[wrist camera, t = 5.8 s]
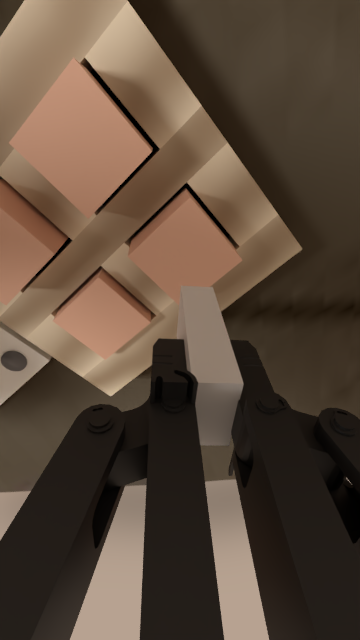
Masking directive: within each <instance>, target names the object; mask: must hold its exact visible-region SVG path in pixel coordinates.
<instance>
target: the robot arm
mask: <svg viewBox="0 0 360 640" xmlns="http://www.w3.org/2000/svg"><path fill="white" fill-rule="evenodd" d="M231 435H232V439H233V443H234V450H233V454H232V458H231V462H230V466H229V476H232V474H233V470H234V471H235V476H236V481H237V485H238V491H239V495H240V500H241V505H242V510H243V514H244V519H245V524H246V529H247V534H248V539H249V544H250V548H251V553H252V558H253V563H254V568H255V573H256V577H257V582H258V587H259V592H260V597H261V601H262V606H263V611H264V616H265V621H266V626H267V630H268V635H269V640H360V419H358V418H357V417H356V416H355V415H353V414H351V413H349V412H347V411H345V410H342V409H338V408H327V409H325V410H322V411H321V413H320V415H319V417H316V416H312V415H308V414H305V413H301V412H298V411H295V410H293V409H291V408H290V406H289V404H288V403H287V401H286V400H285V399H284V398H282V397H281V396H280V395H278V394H276V393H274V390H273V388H272V386H271V383H270V381H269V379H268V376H267V374H266V372H265V369H264V367H263V366H262V362H261V360H260V359H259V355H258V353H257V351H256V348H254V347H253V346H252V345H251V344H250V343H249V342H248V341H239V340H230V339H229V336H228V333H227V330H226V327H225V324H224V321H223V317H222V314H221V311H220V308H219V305H218V302H217V299H216V295H215V292H214V289H213V287H198V286H181V291H180V303H179V314H178V326H177V339H162V338H159V339H158V340H157V341H156V342H155V344H154V345H153V354H152V376H151V393H150V396H149V398H148V400H147V401H146V402H145V403H144V404H143V405H141V406H140V407H138V408H135V409H133V410H129V411H125V412H121V411H120V410H119V409H118V408H117V407H114V406H111V405H105V404H99V405H95V406H91V407H89V408H87V409H86V410H84V411H82V412H81V414H80V415H79V416H78V417H77V418H76V420H75V421H74V423H73V425H72V426H71V428H70V429H69V431H68V433H67V434H66V436H65V437H64V439H63V441H62V442H61V444H60V445H59V447H58V449H57V450H56V452H55V454H54V455H53V457H52V458H51V460H50V462H49V463H48V465H47V466H46V468H45V470H44V471H43V473H42V474H41V476H40V478H39V479H38V481H37V483H36V484H35V486H34V487H33V489H32V491H31V492H30V494H29V495H28V497H27V499H26V500H25V502H24V504H23V505H22V507H21V508H20V510H19V512H18V513H17V515H16V516H15V518H14V520H13V521H12V523H11V524H10V526H9V528H8V529H7V531H6V533H5V534H4V536H3V537H2V539H1V541H0V640H70V637H71V634H72V632H73V629H74V626H75V623H76V621H77V618H78V615H79V612H80V610H81V607H82V604H83V601H84V598H85V595H86V593H87V590H88V587H89V584H90V582H91V579H92V576H93V573H94V570H95V568H96V565H97V562H98V560H99V557H100V554H101V551H102V548H103V546H104V543H105V540H106V537H107V534H108V531H109V529H110V526H111V523H112V521H113V518H114V515H115V512H116V509H117V507H118V504H119V501H120V498H121V496H122V493H123V490H124V487H125V485H126V484H129V483H132V482H135V481H138V480H141V479H144V478H147V486H146V487H147V489H146V509H145V532H144V557H143V579H142V604H141V625H140V626H141V627H140V640H224V635H223V627H222V620H221V611H220V602H219V594H218V587H217V578H216V570H215V562H214V553H213V546H212V537H211V529H210V521H209V512H208V504H207V496H206V488H205V480H204V471H203V463H202V455H201V447H200V445H226V446H229V444H230V439H231ZM346 477H347V478H348V480H349V481H350V482H351V483H350V482H349V481H347V479H346Z"/></svg>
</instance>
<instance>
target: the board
mask: <svg viewBox="0 0 360 640" xmlns="http://www.w3.org/2000/svg"><path fill="white" fill-rule="evenodd" d="M73 57H74V58H75V59H76V60H77V61H78V62H80V63H81V64H82V65H83V66H84V67H85V68H86V69H88V70H89V72H91V71H92V69H93V68H94V69H95V70H96V72H97V73H98V74H99V75H100V77H101V78H102V79H103V80H104V81H105V83H106V84H107V85H108V86H109V88H110V89H111V90H112V91H113V92H114V94H115V95H116V96H117V97H118V99H119V100H120V101H121V102H122V103H123V105H124V106H125V107H126V108H127V110H128V111H129V112H130V113H131V114H132V116H133V117H134V118H135V119H136V121H137V122H138V123H139V124H140V125H141V127H142V128H143V129H144V130H145V132H146V133H147V134H148V135H149V136H150V138H151V139H152V140H153V141H154V143H155V144H156V145H157V146H158V147H159V148H158V149H157V150H156V151H155V152H154V153H153V154H152V156H151V157H150V158H149V159H148V160H147V161H146V162H145V163H144V164H143V165H142V166H141V167H140V168H139V169H138V170H137V171H136V172H135V173H134V174H133V175H132V177H131V178H130V179H129V180H128V181H127V182H126V183H125V184H124V185H123V186H122V187H121V188H120V189H119V190H118V191H117V192H116V193H115V194H114V195H113V196H112V198H111V199H110V200H109V201H108V202H107V203H106V204H105V205H104V206H103V205H101V206H100V207H99V208H98V209H97V210H96V211H95V212H94V214H93V215H92V216H91V217H90V218H89V219H88V218H87V217H86V216H85V215H84V214H83V213H81V212H80V211H79V210H78V209H77V208H76V207H75V206H74V205H73V204H72V203H71V202H70V201H69V200H68V199H67V198H66V197H65V196H64V195H63V194H62V193H61V192H59V191H58V190H57V189H56V188H55V187H54V186H53V185H52V184H51V183H50V182H49V181H48V180H47V179H46V178H45V177H44V176H43V175H42V174H41V173H40V172H39V171H37V170H36V169H35V168H34V167H33V166H32V165H31V164H30V163H29V162H28V161H27V160H26V159H25V158H24V157H23V156H22V155H21V154H20V153H19V152H18V151H17V150H16V149H14V148H13V147H12V146H11V145H10V144H9V142H10V141H11V139H12V138H13V137H14V135H15V134H16V133H17V131H18V130H19V129H20V127H21V126H22V125H23V124H24V122H25V121H26V120H27V118H28V117H29V116H30V114H31V113H32V112H33V110H34V109H35V108H36V106H37V105H38V104H39V102H40V101H41V100H42V98H43V97H44V96H45V94H46V93H47V92H48V91H49V89H50V88H51V87H52V85H53V84H54V83H55V81H56V80H57V79H58V77H59V76H60V75H61V73H62V72H63V71H64V69H65V68H66V67H67V65H68V64H69V63H70V61H71V60H72V59H73ZM2 178H3V179H4V180H5V181H7V182H8V183H9V184H10V185H11V186H12V187H13V188H14V189H16V190H17V191H18V192H19V193H20V194H21V195H22V196H23V197H24V198H26V199H27V200H28V201H29V202H30V203H31V204H32V205H33V206H35V207H36V208H37V209H38V210H39V211H40V212H41V213H42V214H43V215H45V216H46V217H47V218H48V219H49V220H50V221H51V222H52V223H54V224H55V225H56V226H57V227H58V228H59V229H60V230H61V231H62V232H64V233H65V234H66V235H67V236H68V237H69V238H70V239H71V241H70V242H69V243H68V244H67V245H66V246H65V247H64V248H63V249H62V250H61V251H60V252H59V253H58V254H57V255H56V256H55V257H54V258H53V260H52V261H51V262H50V263H49V264H48V265H47V266H46V267H45V268H44V269H43V270H42V271H41V272H40V273H39V274H38V275H37V276H34V277H33V278H32V279H31V280H30V281H29V282H28V283H27V284H26V285H25V286H24V287H23V288H22V289H21V290H20V292H19V293H18V294H17V295H16V296H15V297H14V298H13V299H12V300H11V301H10V302H9V303H8V304H7V305H4V304H3V303H2V302H0V322H2V323H3V324H5V325H6V326H8V327H9V328H11V329H12V330H14V331H15V332H17V333H18V334H20V335H21V336H23V337H24V338H25V339H27V340H28V341H30V342H31V343H33V344H34V345H36V346H37V347H39V348H40V349H42V350H43V351H45V352H46V353H48V354H49V355H50V356H52V357H53V358H55V359H56V360H58V361H59V362H61V363H62V364H64V365H65V366H67V367H68V368H70V369H71V370H72V371H74V372H75V373H77V374H78V375H80V376H81V377H83V378H84V379H86V380H87V381H89V382H90V383H92V384H93V385H95V386H96V387H97V388H99V389H100V390H102V391H103V392H105V393H106V394H108V395H109V396H112V395H113V394H114V393H116V392H117V391H118V390H120V389H121V388H122V387H124V386H125V385H126V384H127V383H129V382H130V381H131V380H133V379H134V378H135V377H137V376H138V375H139V374H141V373H142V372H143V371H144V370H146V369H147V368H148V367H150V366H151V365H152V354H153V345H154V344H155V342H156V341H157V340H158V339H159V338H162V339H177V326H178V314H179V305H178V304H177V303H176V302H175V301H174V300H173V299H171V298H170V297H169V296H168V295H167V294H166V293H165V292H164V291H163V290H162V289H161V288H160V287H159V286H158V285H157V284H156V283H155V282H154V281H153V280H152V279H151V278H149V277H148V276H147V275H146V274H145V273H144V272H143V271H142V270H141V269H140V268H139V267H138V266H137V265H136V264H135V263H134V262H133V261H132V260H131V259H130V258H129V257H128V252H129V248H130V244H131V239H132V238H133V237H134V236H133V234H134V233H135V232H136V231H137V230H138V229H139V228H140V227H141V226H142V225H143V224H144V223H145V222H146V221H147V220H148V219H149V218H150V217H151V216H152V215H153V214H154V213H155V212H156V211H157V210H158V209H160V208H161V207H162V206H163V205H164V204H165V203H166V202H167V201H168V200H169V199H170V198H171V197H172V196H173V195H174V194H175V193H176V192H177V191H178V190H179V189H180V188H181V187H182V186H183V185H184V184H185V183H186V182H187V183H188V184H189V185H190V187H191V188H192V189H193V190H194V191H195V193H196V194H197V195H198V196H199V198H200V199H201V200H202V201H203V202H204V204H205V205H206V206H207V207H208V209H209V210H210V211H211V212H212V213H213V215H214V216H215V217H216V218H217V220H218V221H219V222H220V223H221V224H222V226H223V227H224V228H225V229H226V231H227V232H228V233H229V234H230V236H229V237H227V238H228V239H229V241H230V242H231V243H232V245H233V246H234V248H235V249H236V251H237V252H238V254H239V255H240V257H241V258H242V261H241V262H240V263H239V264H238V265H236V266H235V267H234V268H233V269H231V270H230V271H229V272H228V273H226V274H225V275H224V276H223V277H221V278H220V279H219V280H218V281H217V282H215V283H214V284H213V285H212V286H210V287H213V289H214V292H215V295H216V299H217V302H218V305H219V308H220V311H222V310H224V309H225V308H226V307H228V306H229V305H230V304H232V303H233V302H234V301H235V300H237V299H238V298H239V297H241V296H242V295H243V294H245V293H246V292H247V291H249V290H250V289H251V288H252V287H254V286H255V285H256V284H258V283H259V282H260V281H262V280H263V279H264V278H265V277H267V276H268V275H269V274H271V273H272V272H273V271H275V270H276V269H277V268H278V267H280V266H281V265H282V264H284V263H285V262H286V261H288V260H289V259H290V258H291V257H293V256H294V255H295V254H297V253H298V252H299V251H301V250H302V247H301V246H300V245H299V243H298V242H297V240H296V239H295V238H294V236H293V235H292V233H291V232H290V230H289V229H288V228H287V226H286V225H285V223H284V222H283V220H282V219H281V218H280V216H279V215H278V213H277V212H276V211H275V209H274V208H273V206H272V205H271V203H270V202H269V201H268V199H267V198H266V196H265V195H264V194H263V192H262V191H261V189H260V188H259V186H258V185H257V184H256V182H255V181H254V179H253V178H252V176H251V175H250V174H249V172H248V171H247V169H246V168H245V167H244V165H243V164H242V162H241V161H240V159H239V158H238V157H237V155H236V154H235V152H234V151H233V149H232V148H231V147H230V145H229V144H228V142H227V141H226V140H225V138H224V137H223V135H222V134H221V132H220V131H219V130H218V128H217V127H216V125H215V124H214V122H213V121H212V120H211V118H210V117H209V115H208V114H207V113H206V111H205V110H204V108H203V107H202V105H201V104H200V103H199V101H198V100H197V98H196V97H195V95H194V94H193V93H192V91H191V90H190V88H189V87H188V86H187V84H186V83H185V81H184V80H183V78H182V77H181V76H180V74H179V73H178V71H177V70H176V68H175V67H174V66H173V64H172V63H171V61H170V60H169V59H168V57H167V56H166V54H165V53H164V51H163V50H162V49H161V47H160V46H159V44H158V43H157V42H156V40H155V39H154V37H153V36H152V34H151V33H150V32H149V30H148V29H147V27H146V26H145V24H144V23H143V22H142V20H141V19H140V17H139V16H138V15H137V13H136V12H135V10H134V9H133V7H132V6H131V5H130V3H129V2H128V0H24V2H23V4H22V5H21V7H20V8H19V10H18V11H17V13H16V14H15V16H14V17H13V19H12V20H11V22H10V23H9V25H8V26H7V28H6V29H5V31H4V32H3V34H2V35H1V37H0V179H2ZM100 266H102V267H103V268H104V269H105V270H106V271H107V272H108V273H109V274H111V275H112V276H113V277H114V278H115V279H116V280H117V281H118V282H119V283H121V284H122V285H123V286H124V287H125V288H126V289H127V290H128V291H130V292H131V293H132V294H133V295H134V296H135V297H136V298H137V299H138V300H140V301H141V302H142V303H143V304H144V305H145V306H146V307H147V308H148V309H150V310H151V323H150V324H149V325H147V326H146V327H145V328H144V329H142V330H141V331H140V332H139V333H138V334H136V335H135V336H134V337H133V338H132V339H130V340H129V341H128V342H127V343H126V344H124V345H123V346H122V347H121V348H119V349H118V350H117V351H116V352H115V353H113V354H112V355H111V356H110V357H109V358H107V359H106V360H105V359H103V358H102V357H101V356H99V355H98V354H97V353H95V352H94V351H92V350H91V349H90V348H88V347H87V346H86V345H84V344H83V343H82V342H80V341H79V340H78V339H76V338H75V337H73V336H72V335H71V334H69V333H68V332H67V331H65V330H64V329H63V328H61V327H60V326H59V325H57V324H56V323H55V322H53V320H54V318H55V316H56V314H57V312H58V310H59V309H60V307H61V305H62V303H63V302H64V301H65V300H66V299H67V298H68V297H69V296H70V295H71V294H72V293H73V292H74V291H75V290H76V289H77V288H78V287H79V286H80V285H81V284H82V283H83V282H84V281H85V280H86V279H87V278H88V277H89V276H90V275H91V274H92V273H93V272H94V271H96V270H97V269H98V268H99V267H100Z"/></svg>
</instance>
